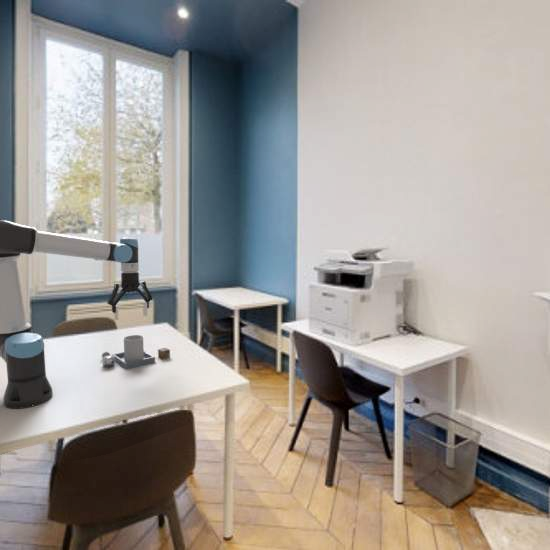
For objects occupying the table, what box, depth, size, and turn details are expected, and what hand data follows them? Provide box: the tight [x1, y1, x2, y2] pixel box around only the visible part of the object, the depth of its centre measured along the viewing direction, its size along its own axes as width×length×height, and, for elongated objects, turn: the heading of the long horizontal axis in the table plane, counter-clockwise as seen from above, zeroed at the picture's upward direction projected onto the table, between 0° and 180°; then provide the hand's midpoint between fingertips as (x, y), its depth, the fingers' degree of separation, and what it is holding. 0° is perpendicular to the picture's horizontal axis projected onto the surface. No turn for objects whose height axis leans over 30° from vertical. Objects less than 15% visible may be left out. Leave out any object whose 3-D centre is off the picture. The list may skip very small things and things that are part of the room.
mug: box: [123, 334, 145, 363], centre depth 183 cm, size 12×8×11 cm
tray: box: [111, 350, 156, 370], centre depth 183 cm, size 14×17×2 cm
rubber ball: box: [101, 351, 111, 358], centre depth 185 cm, size 4×4×4 cm
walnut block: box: [157, 347, 171, 360], centre depth 188 cm, size 4×4×4 cm
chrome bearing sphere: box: [101, 354, 115, 369], centre depth 177 cm, size 5×5×4 cm
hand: (131, 317), depth 181 cm, fingers open, 13 cm apart
